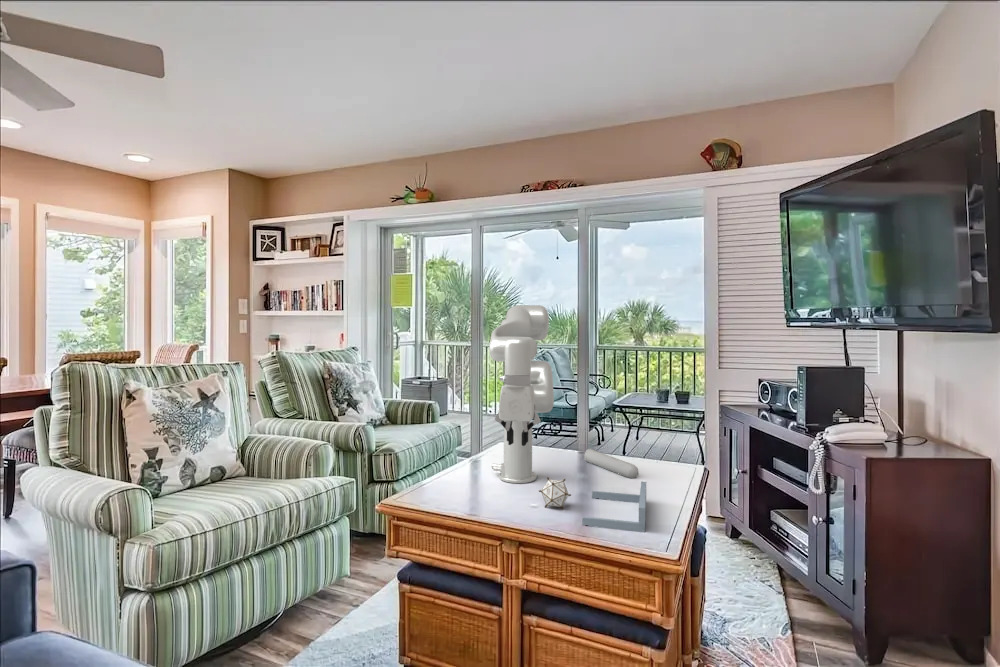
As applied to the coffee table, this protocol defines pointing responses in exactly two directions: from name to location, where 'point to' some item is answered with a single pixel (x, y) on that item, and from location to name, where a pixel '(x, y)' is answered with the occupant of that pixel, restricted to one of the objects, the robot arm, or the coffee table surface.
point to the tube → (611, 463)
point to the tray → (620, 523)
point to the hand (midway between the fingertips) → (517, 443)
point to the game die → (555, 493)
